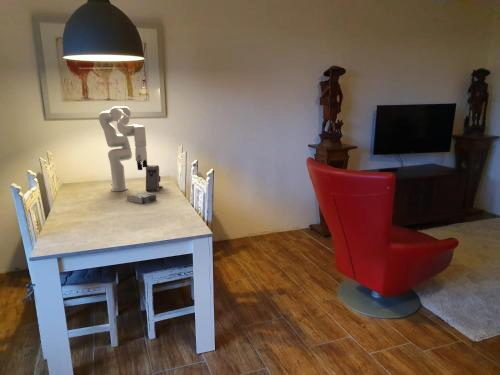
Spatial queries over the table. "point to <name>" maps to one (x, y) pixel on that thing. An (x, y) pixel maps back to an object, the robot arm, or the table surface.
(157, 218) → the table surface
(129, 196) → the side door
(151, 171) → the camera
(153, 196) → the housing
